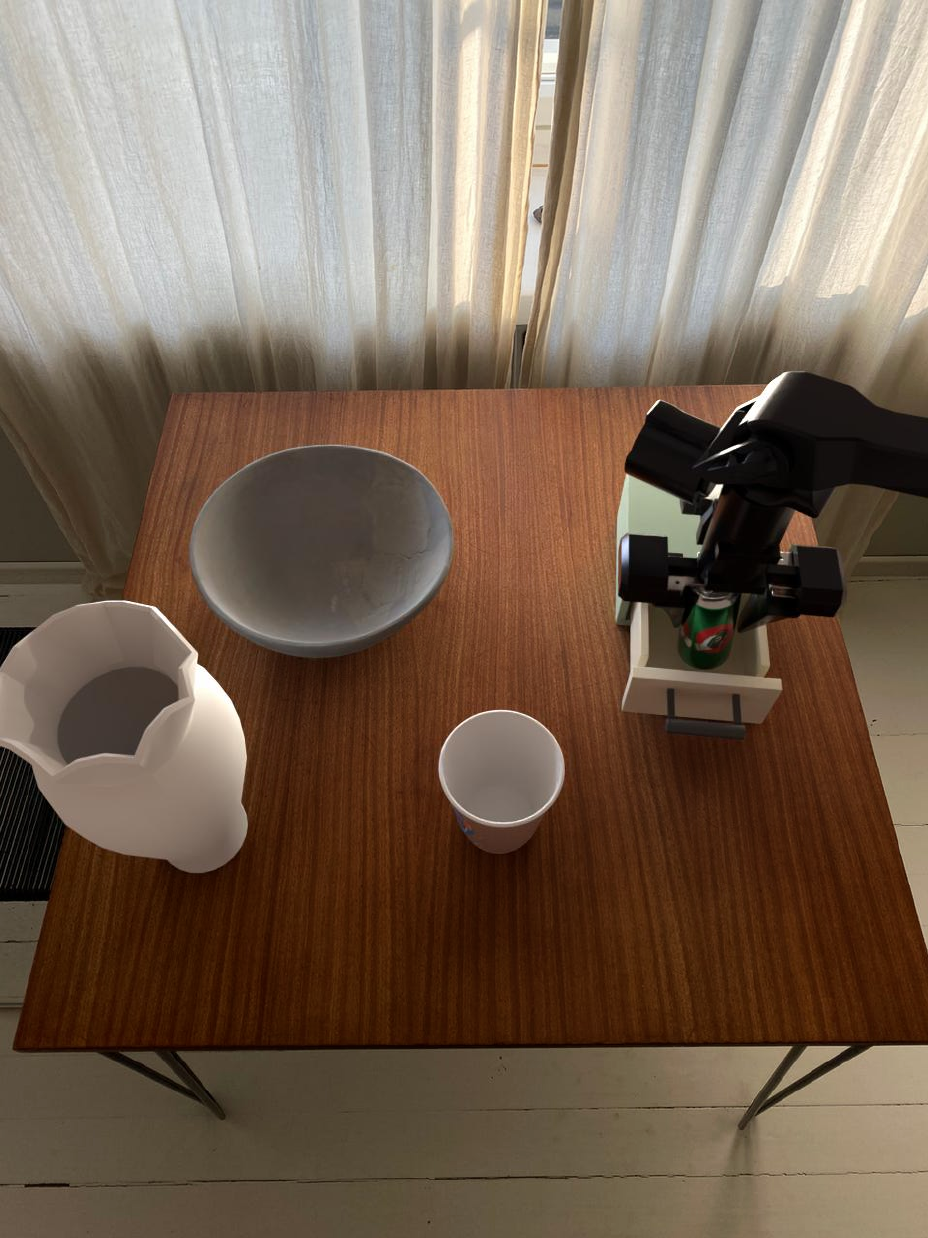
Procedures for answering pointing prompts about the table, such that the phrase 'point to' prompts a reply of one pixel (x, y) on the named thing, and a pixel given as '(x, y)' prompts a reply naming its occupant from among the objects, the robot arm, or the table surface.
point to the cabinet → (653, 526)
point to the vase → (128, 734)
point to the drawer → (697, 679)
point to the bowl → (321, 549)
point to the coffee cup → (501, 777)
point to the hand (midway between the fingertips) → (707, 626)
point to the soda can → (707, 627)
